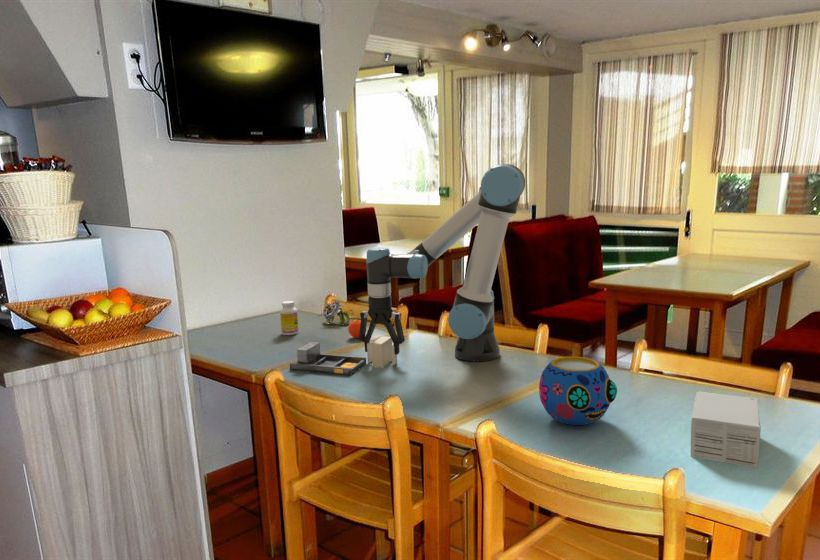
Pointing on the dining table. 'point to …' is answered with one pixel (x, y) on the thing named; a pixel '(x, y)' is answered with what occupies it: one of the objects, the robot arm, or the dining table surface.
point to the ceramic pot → (576, 390)
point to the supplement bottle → (289, 318)
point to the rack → (325, 361)
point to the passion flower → (335, 312)
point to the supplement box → (726, 429)
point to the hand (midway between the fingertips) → (382, 362)
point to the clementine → (354, 328)
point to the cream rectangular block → (381, 351)
